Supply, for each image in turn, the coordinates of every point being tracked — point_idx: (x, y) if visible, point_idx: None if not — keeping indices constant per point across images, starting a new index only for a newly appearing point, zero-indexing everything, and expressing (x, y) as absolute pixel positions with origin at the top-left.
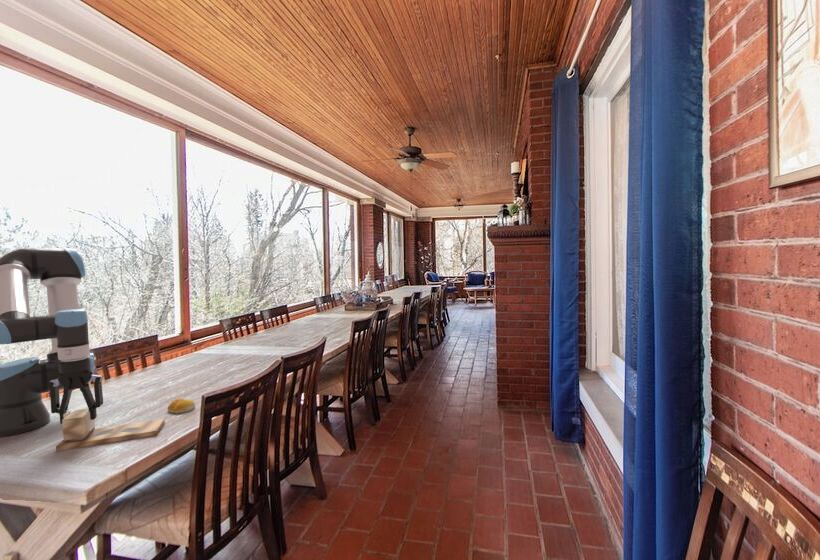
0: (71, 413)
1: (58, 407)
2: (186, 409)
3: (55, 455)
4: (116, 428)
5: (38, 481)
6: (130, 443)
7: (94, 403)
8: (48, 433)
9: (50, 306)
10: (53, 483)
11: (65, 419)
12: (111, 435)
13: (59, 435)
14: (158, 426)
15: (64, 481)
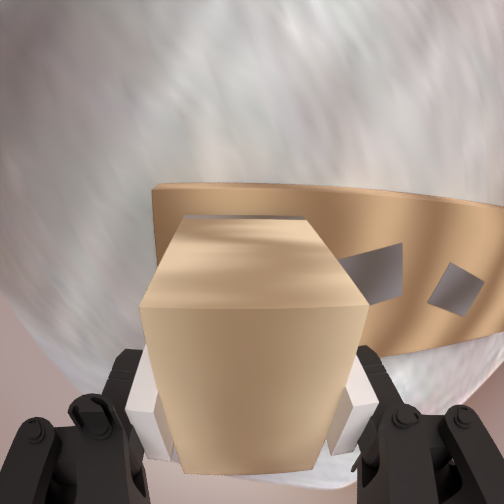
0: (170, 396)
1: (53, 462)
2: None
3: None
4: (413, 247)
5: (240, 475)
6: (433, 363)
7: (416, 452)
8: (16, 82)
9: None
10: (277, 482)
11: (205, 473)
12: (395, 333)
13: (74, 128)
14: None
15: (297, 480)
